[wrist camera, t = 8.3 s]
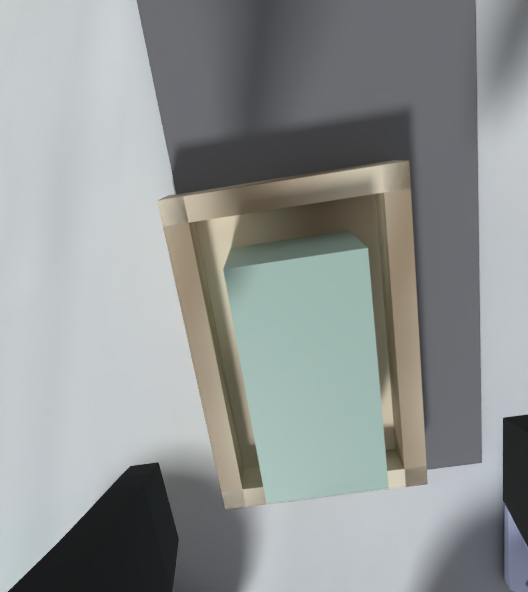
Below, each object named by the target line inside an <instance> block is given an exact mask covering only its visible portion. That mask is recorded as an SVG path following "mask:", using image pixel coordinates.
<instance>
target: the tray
mask: <svg viewBox="0 0 528 592" xmlns="http://www.w3.org/2000/svg"><path fill="white" fill-rule="evenodd" d="M157 201H158V206H159V210H160V215H161V219H162V224H163V229H164V233H165V238H166V242H167V247H168V251H169V256H170V261H171V265H172V270H173V274H174V279H175V283H176V288H177V292H178V297H179V302H180V306H181V311H182V315H183V320H184V324H185V329H186V333H187V338H188V343H189V347H190V352H191V356H192V361H193V365H194V370H195V374H196V379H197V384H198V388H199V393H200V397H201V402H202V406H203V411H204V416H205V420H206V425H207V429H208V434H209V438H210V443H211V447H212V452H213V457H214V461H215V466H216V470H217V475H218V479H219V484H220V488H221V493H222V498H223V502H224V507H225V509H233V508H241V507H249V506H257V505H265V504H266V499H265V493H264V488H263V483H262V477H261V472H260V466H259V461H258V456H257V450H256V445H255V439H254V434H253V428H252V423H251V418H250V412H249V407H248V401H247V396H246V391H245V385H244V380H243V374H242V369H241V364H240V358H239V353H238V347H237V342H236V337H235V331H234V326H233V320H232V315H231V309H230V304H229V299H228V293H227V288H226V282H225V277H224V272H223V268H224V265H225V263H226V260H227V257H228V254H229V251H230V249H231V248H234V247H241V246H247V245H254V244H261V243H267V242H274V241H280V240H287V239H294V238H300V237H307V236H313V235H320V234H327V233H333V232H340V231H347V230H349V231H350V232H351V233H352V234H353V235H354V236H355V237H356V238H358V239H359V240H360V241H361V242H362V243H363V244H364V245H365V246H366V247H368V255H369V267H370V278H371V290H372V301H373V313H374V324H375V336H376V348H377V359H378V371H379V382H380V394H381V405H382V417H383V428H384V440H385V452H386V463H387V475H388V486H389V489H393V488H401V487H409V486H417V485H425V484H427V467H426V449H425V431H424V413H423V396H422V378H421V360H420V343H419V325H418V307H417V289H416V272H415V254H414V236H413V219H412V201H411V183H410V165H409V161H404V160H392V161H385V162H379V163H373V164H366V165H360V166H354V167H347V168H341V169H335V170H328V171H322V172H316V173H310V174H303V175H297V176H291V177H284V178H278V179H272V180H265V181H259V182H253V183H246V184H240V185H234V186H227V187H221V188H215V189H208V190H202V191H196V192H189V193H183V194H177V195H170V196H167V197H164V198H162V199H160V200H157ZM384 490H385V489H384ZM376 491H377V490H376ZM368 492H369V491H368ZM360 493H361V492H360ZM352 494H353V493H352ZM344 495H345V494H344ZM336 496H337V495H336ZM328 497H329V496H328ZM320 498H321V497H320ZM312 499H313V498H312ZM304 500H305V499H304ZM296 501H297V500H296ZM288 502H289V501H288ZM280 503H281V502H280ZM272 504H273V503H272Z"/></svg>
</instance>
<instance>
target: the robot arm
mask: <svg viewBox="0 0 528 592" xmlns="http://www.w3.org/2000/svg"><path fill="white" fill-rule="evenodd" d="M503 501H504V503H505V558H504V579H505V582H506V584H507V586H508V588H509V589H510V590H511V591H514V592H526V591H528V415H521V416H514V417H506V418H503ZM178 540H179V539H178V535H177V531H176V527H175V524H174V520H173V516H172V512H171V508H170V504H169V501H168V497H167V493H166V489H165V485H164V482H163V478H162V474H161V470H160V466H159V462H158V463H151V464H143V465H135V466H130V467H129V468H128V469H127V470H126V471H125V472H124V473H123V474H122V475H121V476H120V477H119V478H118V479H117V480H116V482H115V483H114V484H113V485H112V486H111V487H110V488H109V489H108V490H107V491H106V492H105V493H104V494H103V496H102V497H101V498H100V499H99V500H98V501H97V502H96V503H95V504H94V505H93V506H92V507H91V509H90V510H89V511H88V512H87V513H86V514H85V515H84V516H83V517H82V518H81V519H80V520H79V521H78V522H77V523H76V524H75V525H74V526H73V528H72V529H71V530H70V531H69V532H68V533H67V534H66V535H65V536H64V537H63V538H62V539H61V540H60V541H59V542H58V543H57V544H56V545H55V546H54V547H53V548H52V549H51V550H50V551H49V552H48V553H47V554H46V555H45V556H44V557H43V558H42V559H41V560H40V561H39V562H38V563H37V564H36V565H35V566H34V567H33V568H32V569H31V570H30V571H29V572H28V573H27V574H26V575H25V576H24V577H23V578H22V579H21V580H19V581H18V582H17V583H16V584H15V585H14V586H13V587H12V588H11V589H10V590H9V591H8V592H172V588H173V581H174V574H175V566H176V557H177V549H178Z"/></svg>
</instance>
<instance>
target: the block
mask: <svg viewBox="0 0 528 592" xmlns="http://www.w3.org/2000/svg"><path fill="white" fill-rule="evenodd" d="M223 272H224V277H225V282H226V288H227V293H228V299H229V304H230V309H231V315H232V320H233V326H234V331H235V337H236V342H237V347H238V353H239V358H240V364H241V369H242V374H243V380H244V385H245V391H246V396H247V401H248V407H249V412H250V418H251V423H252V428H253V434H254V439H255V445H256V450H257V456H258V461H259V466H260V472H261V477H262V483H263V488H264V493H265V499H266V504H272V503H280V502H288V501H296V500H304V499H312V498H320V497H328V496H336V495H344V494H352V493H360V492H368V491H376V490H384V489H389V486H388V475H387V463H386V452H385V440H384V428H383V417H382V405H381V394H380V382H379V371H378V359H377V348H376V336H375V324H374V313H373V301H372V290H371V278H370V267H369V255H368V247H366V246H365V245H364V244H363V243H362V242H361V241H360V240H359V239H358V238H356V237H355V236H354V235H353V234H352V233H351V232H350V231H349V230H347V231H340V232H333V233H327V234H320V235H313V236H307V237H300V238H294V239H287V240H280V241H274V242H267V243H261V244H254V245H247V246H241V247H234V248H231V249H230V251H229V254H228V257H227V260H226V263H225V265H224V268H223Z"/></svg>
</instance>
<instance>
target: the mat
mask: <svg viewBox="0 0 528 592" xmlns="http://www.w3.org/2000/svg"><path fill="white" fill-rule="evenodd" d="M137 4H138V9H139V14H140V19H141V24H142V28H143V33H144V38H145V43H146V48H147V53H148V57H149V62H150V67H151V72H152V77H153V82H154V87H155V91H156V96H157V101H158V106H159V111H160V116H161V121H162V125H163V130H164V135H165V140H166V145H167V150H168V155H169V159H170V164H171V169H172V174H173V179H174V184H175V188H176V193H177V194H183V193H189V192H196V191H202V190H208V189H215V188H221V187H227V186H234V185H240V184H246V183H253V182H259V181H265V180H272V179H278V178H284V177H291V176H297V175H303V174H310V173H316V172H322V171H328V170H335V169H341V168H347V167H354V166H360V165H366V164H373V163H379V162H385V161H392V160H404V161H409V165H410V183H411V201H412V219H413V236H414V254H415V272H416V289H417V307H418V325H419V343H420V360H421V378H422V396H423V413H424V431H425V449H426V467H427V470H428V469H436V468H444V467H452V466H460V465H468V464H475V463H482V442H481V369H480V296H479V223H478V150H477V77H476V4H475V0H137Z"/></svg>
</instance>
